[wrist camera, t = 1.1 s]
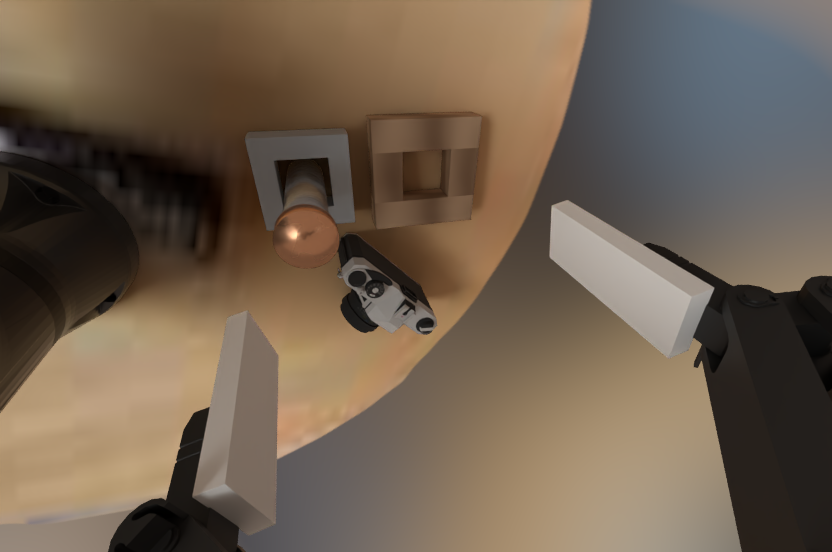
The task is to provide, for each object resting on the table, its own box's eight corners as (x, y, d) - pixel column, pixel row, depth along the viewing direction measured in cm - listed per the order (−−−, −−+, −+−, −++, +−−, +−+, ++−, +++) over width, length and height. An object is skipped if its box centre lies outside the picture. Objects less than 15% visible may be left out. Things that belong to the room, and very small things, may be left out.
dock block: (372, 218, 37) (376, 229, 35) (366, 115, 31) (370, 120, 29) (462, 210, 39) (470, 219, 37) (471, 111, 34) (482, 116, 32)
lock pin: (286, 197, 34) (279, 272, 23) (278, 154, 31) (266, 215, 21) (329, 194, 34) (342, 264, 24) (324, 152, 32) (335, 208, 22)
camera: (301, 273, 38) (306, 331, 32) (347, 222, 37) (364, 273, 30) (385, 318, 46) (404, 373, 40) (427, 278, 45) (454, 329, 38)
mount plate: (268, 219, 34) (267, 230, 32) (248, 131, 30) (244, 138, 28) (352, 211, 36) (355, 222, 34) (344, 127, 32) (347, 134, 30)
